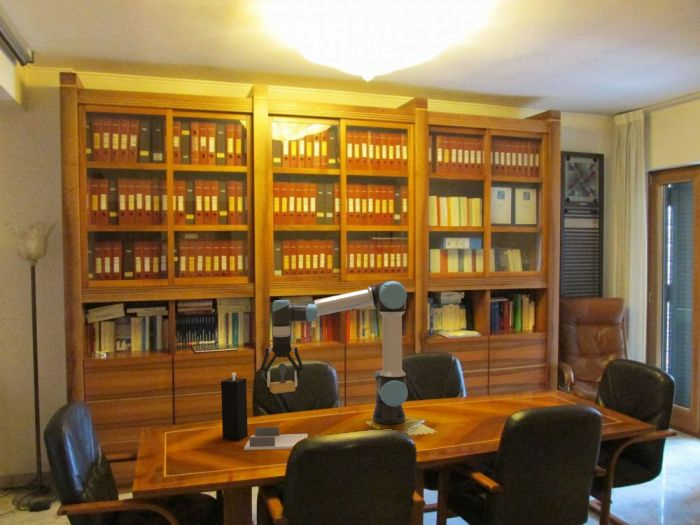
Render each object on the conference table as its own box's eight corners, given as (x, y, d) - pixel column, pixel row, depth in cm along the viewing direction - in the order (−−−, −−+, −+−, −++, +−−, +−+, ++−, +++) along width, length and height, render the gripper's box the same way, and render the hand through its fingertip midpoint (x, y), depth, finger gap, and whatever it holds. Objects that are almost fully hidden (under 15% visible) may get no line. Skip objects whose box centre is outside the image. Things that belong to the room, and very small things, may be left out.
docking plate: (307, 436, 233) (307, 425, 233) (304, 448, 217) (304, 436, 217) (251, 437, 233) (251, 426, 233) (244, 450, 217) (244, 438, 217)
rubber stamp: (291, 388, 241) (291, 361, 241) (295, 391, 236) (295, 363, 236) (269, 391, 237) (269, 363, 238) (273, 393, 232) (272, 365, 232)
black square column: (248, 435, 235) (246, 370, 235) (238, 441, 228) (236, 374, 228) (232, 434, 238) (230, 370, 238) (222, 440, 230) (220, 373, 231)
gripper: (309, 334, 240) (310, 384, 240) (256, 335, 241) (257, 384, 241) (307, 336, 233) (308, 387, 233) (252, 337, 234) (253, 388, 233)
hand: (282, 386), depth 237 cm, fingers closed on rubber stamp, 11 cm apart
